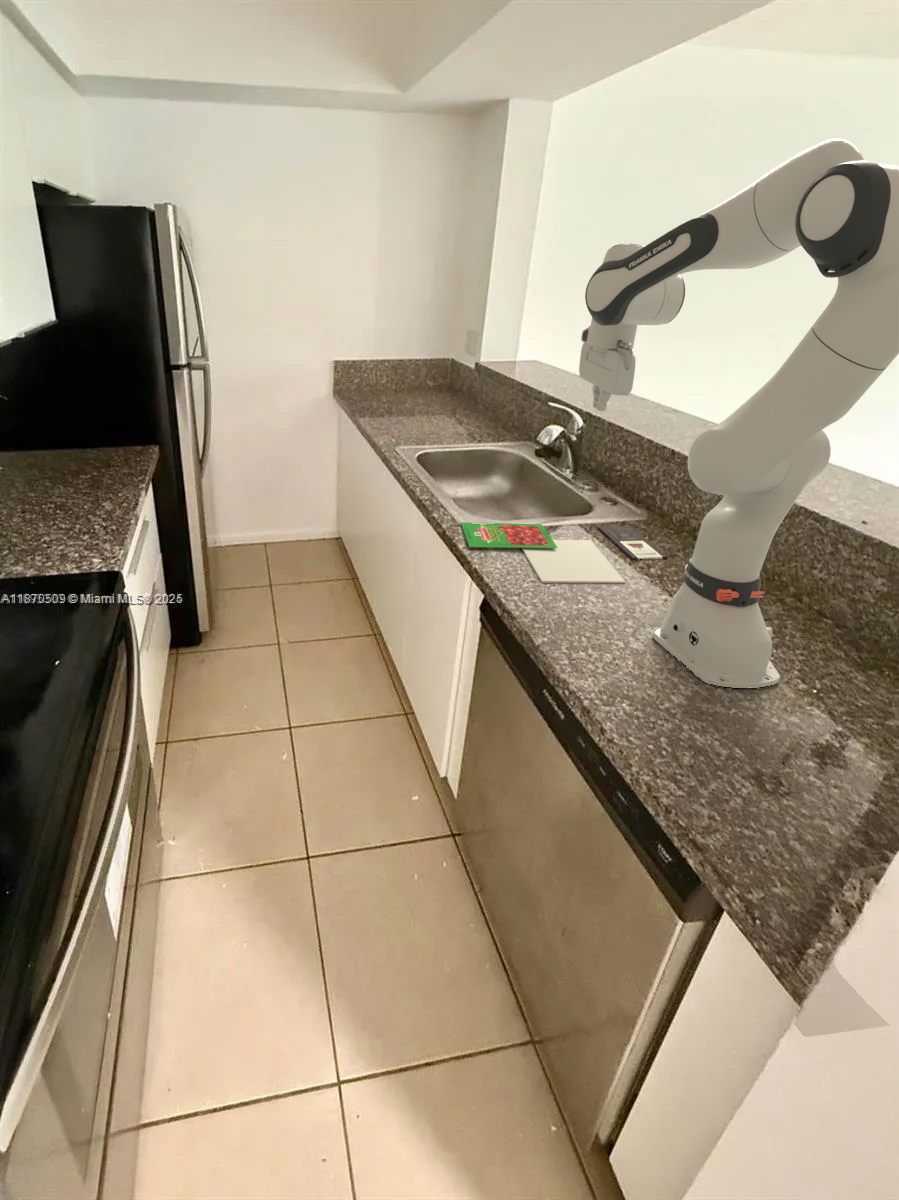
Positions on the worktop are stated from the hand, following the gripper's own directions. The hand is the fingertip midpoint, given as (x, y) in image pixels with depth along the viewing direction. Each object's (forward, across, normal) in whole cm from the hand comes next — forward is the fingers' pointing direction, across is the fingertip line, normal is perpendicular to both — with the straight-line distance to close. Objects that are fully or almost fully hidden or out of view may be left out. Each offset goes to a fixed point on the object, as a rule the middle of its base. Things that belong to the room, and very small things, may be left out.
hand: (598, 409), depth 134 cm
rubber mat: (+31, -6, +3) cm, 32 cm away
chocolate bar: (+32, +4, -16) cm, 36 cm away
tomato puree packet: (+30, +6, +4) cm, 31 cm away
